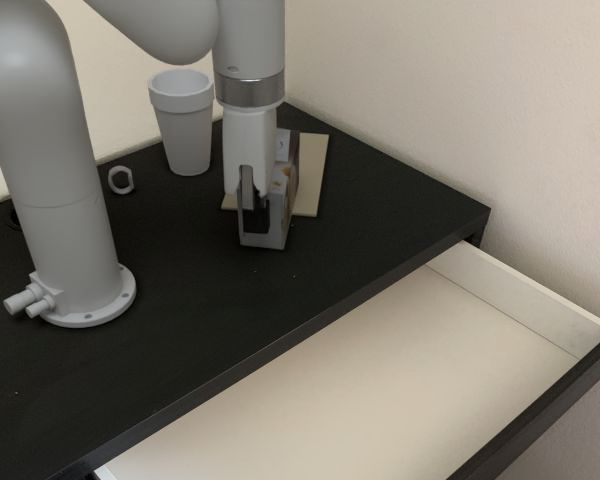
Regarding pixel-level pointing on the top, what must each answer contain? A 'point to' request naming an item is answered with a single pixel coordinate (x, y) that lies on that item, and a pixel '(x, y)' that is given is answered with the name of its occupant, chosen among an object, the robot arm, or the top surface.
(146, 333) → the top surface
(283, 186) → the coffee box
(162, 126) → the foam cup
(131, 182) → the grey ring
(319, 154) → the mat
